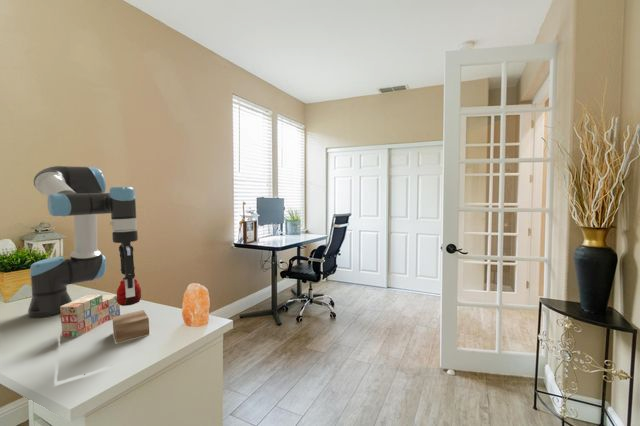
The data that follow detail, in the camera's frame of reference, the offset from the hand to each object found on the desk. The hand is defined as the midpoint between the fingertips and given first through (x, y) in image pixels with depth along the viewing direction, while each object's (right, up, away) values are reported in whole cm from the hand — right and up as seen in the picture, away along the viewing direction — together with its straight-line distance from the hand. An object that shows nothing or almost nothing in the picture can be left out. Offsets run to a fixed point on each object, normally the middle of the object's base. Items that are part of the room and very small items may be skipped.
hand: (128, 293), depth 112 cm
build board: (-1, -16, 0) cm, 16 cm away
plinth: (0, -15, +1) cm, 15 cm away
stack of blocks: (-20, -16, +10) cm, 27 cm away
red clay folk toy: (0, -4, 0) cm, 4 cm away
